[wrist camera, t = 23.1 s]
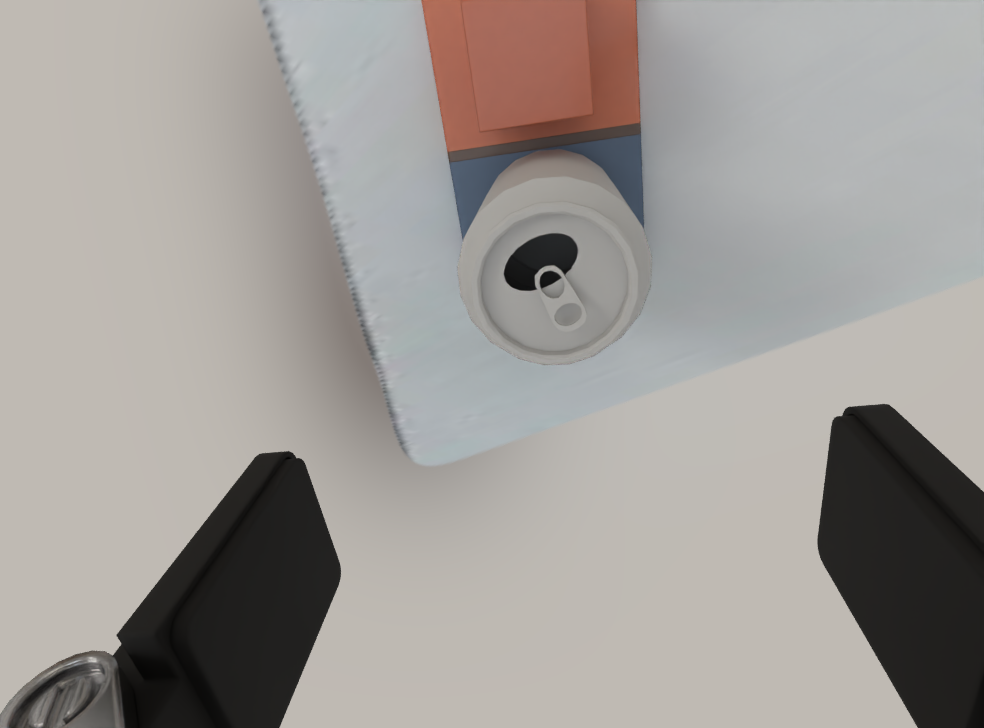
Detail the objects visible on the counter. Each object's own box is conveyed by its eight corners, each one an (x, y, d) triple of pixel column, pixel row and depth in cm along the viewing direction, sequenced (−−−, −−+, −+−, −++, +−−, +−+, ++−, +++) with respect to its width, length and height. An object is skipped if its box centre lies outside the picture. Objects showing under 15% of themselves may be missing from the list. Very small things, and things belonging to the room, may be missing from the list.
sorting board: (632, -46, 26) (634, -50, 26) (643, 266, 33) (645, 270, 32) (423, -6, 28) (419, -8, 27) (472, 286, 34) (471, 291, 33)
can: (580, 117, 29) (600, 138, 18) (644, 244, 31) (694, 327, 21) (457, 195, 31) (410, 254, 20) (526, 307, 34) (517, 412, 23)
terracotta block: (578, -6, 27) (585, -24, 22) (586, 110, 29) (594, 115, 24) (473, 14, 27) (459, 0, 23) (489, 125, 29) (478, 132, 25)
